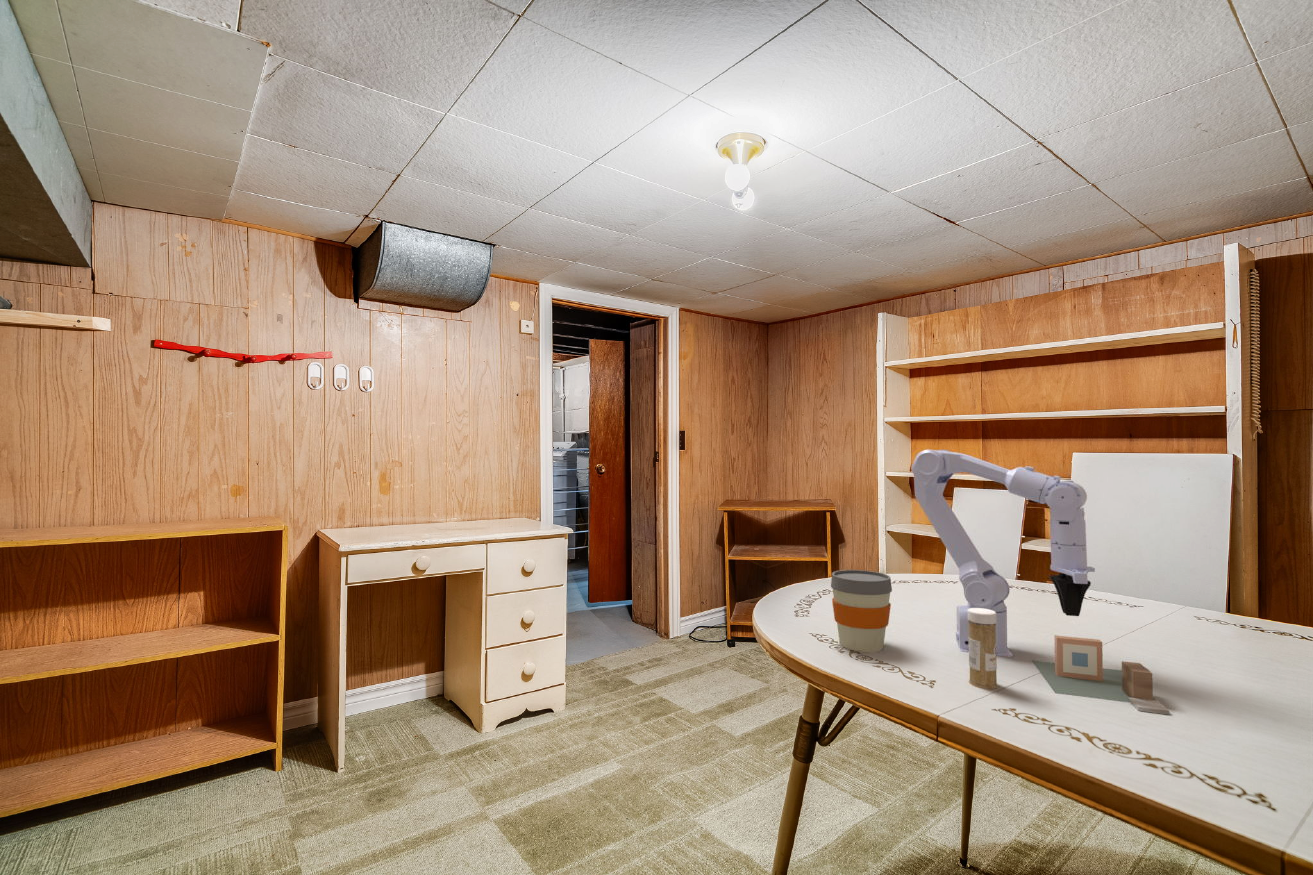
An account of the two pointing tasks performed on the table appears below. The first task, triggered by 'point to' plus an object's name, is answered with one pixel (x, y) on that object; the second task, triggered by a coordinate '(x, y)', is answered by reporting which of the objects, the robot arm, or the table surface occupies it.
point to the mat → (1085, 683)
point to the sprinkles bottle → (982, 648)
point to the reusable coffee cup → (861, 608)
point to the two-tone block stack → (1140, 688)
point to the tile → (1078, 658)
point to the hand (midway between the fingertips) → (1070, 614)
